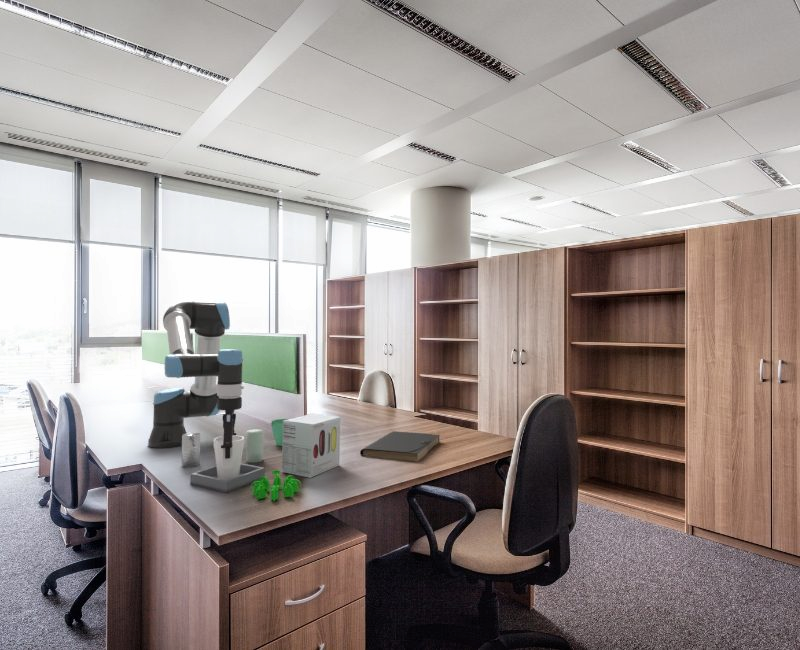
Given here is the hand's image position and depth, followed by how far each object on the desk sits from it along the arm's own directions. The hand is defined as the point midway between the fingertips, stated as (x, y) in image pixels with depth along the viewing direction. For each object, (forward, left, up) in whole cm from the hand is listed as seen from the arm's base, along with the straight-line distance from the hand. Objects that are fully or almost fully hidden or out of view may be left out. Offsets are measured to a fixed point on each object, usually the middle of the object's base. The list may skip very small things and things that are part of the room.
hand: (228, 462), depth 149 cm
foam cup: (0, 0, -6) cm, 6 cm away
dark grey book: (+31, +65, -7) cm, 72 cm away
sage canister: (-10, +22, -6) cm, 25 cm away
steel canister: (-26, +6, -6) cm, 27 cm away
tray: (0, 0, -6) cm, 6 cm away
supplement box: (+15, +24, -7) cm, 29 cm away
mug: (-15, +46, -6) cm, 49 cm away
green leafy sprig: (+21, -1, -7) cm, 22 cm away
